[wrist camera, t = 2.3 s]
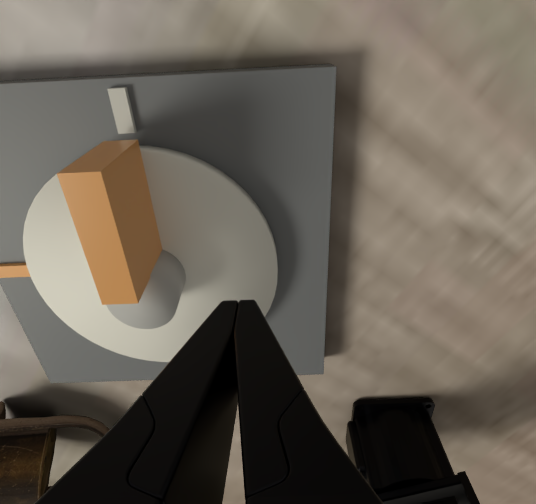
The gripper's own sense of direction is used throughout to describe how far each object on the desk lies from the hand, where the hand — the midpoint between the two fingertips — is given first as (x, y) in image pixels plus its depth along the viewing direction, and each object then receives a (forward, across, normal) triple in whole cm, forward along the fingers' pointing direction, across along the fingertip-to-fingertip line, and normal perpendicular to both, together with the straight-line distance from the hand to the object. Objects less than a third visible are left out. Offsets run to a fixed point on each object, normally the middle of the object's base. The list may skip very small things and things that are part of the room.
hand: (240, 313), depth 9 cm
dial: (+11, +6, +5) cm, 14 cm away
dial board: (+13, +6, +6) cm, 15 cm away
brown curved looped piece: (+13, +18, +23) cm, 32 cm away
